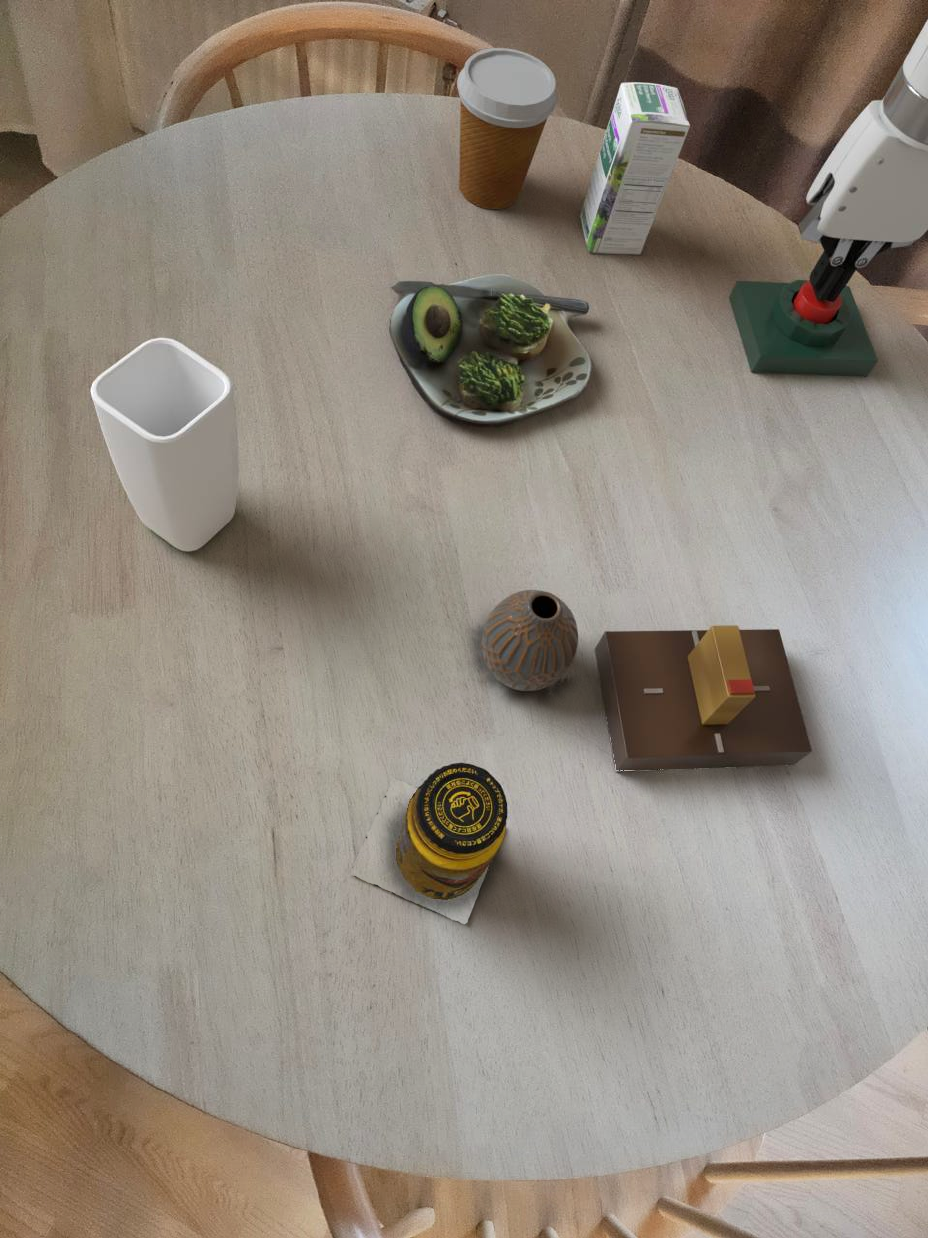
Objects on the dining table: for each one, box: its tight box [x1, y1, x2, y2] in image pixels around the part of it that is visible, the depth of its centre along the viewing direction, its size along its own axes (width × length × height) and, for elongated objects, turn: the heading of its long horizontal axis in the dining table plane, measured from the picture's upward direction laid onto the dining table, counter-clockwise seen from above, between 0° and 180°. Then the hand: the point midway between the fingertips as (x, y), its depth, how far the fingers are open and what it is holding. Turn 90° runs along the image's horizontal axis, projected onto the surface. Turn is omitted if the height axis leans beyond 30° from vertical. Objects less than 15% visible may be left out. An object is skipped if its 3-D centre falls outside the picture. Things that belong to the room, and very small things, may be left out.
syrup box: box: [579, 81, 691, 255], centre depth 90 cm, size 6×6×14 cm
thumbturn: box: [688, 624, 755, 725], centre depth 67 cm, size 6×2×5 cm, turn 5°
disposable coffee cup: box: [456, 47, 559, 210], centre depth 92 cm, size 10×10×12 cm
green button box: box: [728, 279, 879, 378], centre depth 92 cm, size 12×10×4 cm
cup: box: [89, 337, 240, 552], centre depth 67 cm, size 7×7×15 cm
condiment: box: [396, 762, 509, 900], centre depth 59 cm, size 7×8×12 cm
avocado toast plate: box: [388, 273, 593, 428], centre depth 85 cm, size 19×18×5 cm
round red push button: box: [793, 281, 842, 324], centre depth 90 cm, size 4×4×2 cm
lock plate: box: [594, 628, 813, 771], centre depth 71 cm, size 14×10×3 cm
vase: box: [481, 589, 579, 692], centre depth 68 cm, size 7×7×9 cm
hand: (821, 290), depth 88 cm, fingers closed
